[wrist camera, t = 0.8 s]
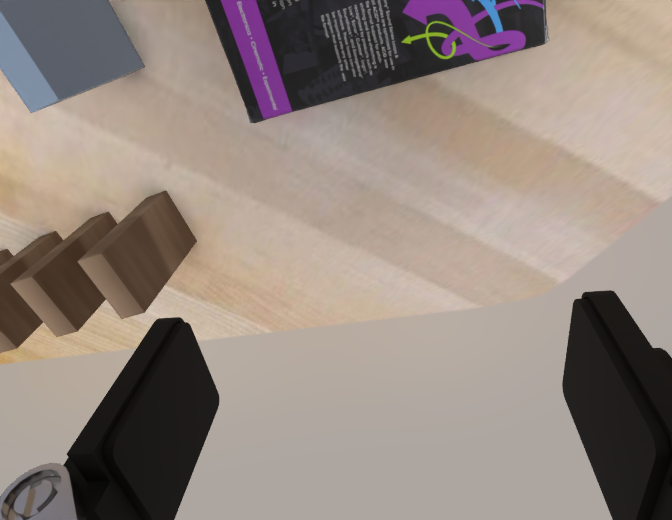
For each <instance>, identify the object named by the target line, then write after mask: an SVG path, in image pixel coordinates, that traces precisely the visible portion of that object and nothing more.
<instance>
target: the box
mask: <svg viewBox="0 0 672 520" xmlns="http://www.w3.org/2000/svg"><path fill="white" fill-rule="evenodd" d="M205 1H206V4H207V7H208V9H209V12H210V15H211V17H212V20H213V22H214V25H215V27H216V30H217V33H218V35H219V38H220V41H221V43H222V46H223V49H224V51H225V54H226V56H227V59H228V61H229V64H230V66H231V69H232V72H233V74H234V77H235V80H236V83H237V85H238V88H239V91H240V93H241V96H242V98H243V101H244V103H245V106H246V109H247V113H248V116H249V120H250V122H251V123H257V122H260V121H263V120H266V119H269V118H273V117H276V116H280V115H283V114H287V113H290V112H294V111H297V110H301V109H305V108H308V107H312V106H316V105H319V104H323V103H326V102H330V101H334V100H337V99H341V98H345V97H349V96H352V95H355V94H359V93H363V92H367V91H370V90H374V89H378V88H381V87H385V86H389V85H393V84H397V83H400V82H404V81H407V80H411V79H415V78H418V77H422V76H426V75H430V74H433V73H437V72H441V71H444V70H448V69H452V68H455V67H459V66H463V65H466V64H470V63H474V62H478V61H481V60H485V59H489V58H493V57H496V56H500V55H503V54H508V53H512V52H515V51H519V50H524V49H528V48H531V47H536V46H539V45H543V44H546V43H547V41H549V37H548V26H547V22H546V0H205Z"/></svg>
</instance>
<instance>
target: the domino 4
mask: <svg viewBox="0 0 672 520" xmlns="http://www.w3.org/2000/svg"><path fill="white" fill-rule="evenodd" d="M196 242H197V241H196V239H195V237H194V236H193V234H192V232H191V231H190V229H189V227H188V226H187V224H186V222H185V221H184V219H183V218H182V216H181V214H180V213H179V211H178V209H177V208H176V206H175V204H174V203H173V201H172V199H171V198H170V196H169V194H168V193H167V191H164V192H161V193H159V194H156V195H153V196H150V197H148V198H146V199H145V200H144V201H143V202H142V203H140V204H139V205H138V206H137V207H136V208H135V209H134V210H133V211H132V212H131V213H130V214H128V215H127V216H126V217H125V218H124V219H123V220H122V221H121V222H120V223H119V224H118V225H116V226H115V227H114V228H113V229H112V230H111V231H110V232H109V233H108V234H107V235H106V236H104V237H103V238H102V239H101V240H100V241H99V242H98V243H97V244H96V245H95V246H94V247H93V248H91V249H90V250H89V251H88V252H87V253H86V254H85V255H84V256H83V257H82V258H81V259H79V260H78V261H77V262H78V263H79V264H80V266H81V267H82V268H83V270H84V271H85V272H86V273H87V275H88V276H89V277H90V279H91V280H92V281H93V283H94V284H95V285H96V286H97V288H98V289H99V290H100V292H101V293H102V294H103V296H104V297H105V298H106V299H107V301H108V302H109V303H110V305H111V306H112V307H113V309H114V310H115V311H116V312H117V314H118V315H119V316H120V318H121V319H123V318H127V317H131V316H134V315H138V314H141V313H145V311H146V310H147V309H148V307H149V306H150V304H151V303H152V302H153V300H154V299H155V298H156V296H157V295H158V294H159V292H160V291H161V289H162V288H163V287H164V285H165V284H166V283H167V281H168V280H169V279H170V277H171V276H172V274H173V273H174V272H175V270H176V269H177V268H178V266H179V265H180V263H181V262H182V261H183V259H184V258H185V257H186V255H187V254H188V253H189V251H190V250H191V248H192V247H193V246H194V244H195V243H196Z"/></svg>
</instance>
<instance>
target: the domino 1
mask: <svg viewBox="0 0 672 520" xmlns="http://www.w3.org/2000/svg"><path fill="white" fill-rule="evenodd" d="M62 241H63V240H62V238H61V237H60V236H59V234H58V233H57V232H56V231H55V232H52V233H49V234H46V235H44V236H41V237H39V238H37V239H36V240H35V241H33V242H32V243H31V244H29V245H28V246H27V247H25V248H24V249H23V250H21V251H20V252H19V253H17V254H16V255H15V256H13V257H12V258H11V259H9V260H8V261H7V262H5V263H4V264H3V265H1V266H0V353H2V352H5V351H9V350H13V349H16V348H18V347H19V346H20V345H21V344H22V343H23V342H24V341H25V340H26V339H27V338H28V337H29V336H30V335H31V334H32V333H33V332H34V331H35V330H36V329H37V328H38V327H39V326H40V325H41V324H42V323H43V321H42V320H41V319H40V317H39V316H38V315H37V314H36V313H35V312H34V311H33V309H32V308H31V307H30V306H29V305H28V304H27V302H26V301H25V300H24V299H23V298H22V297H21V296H20V294H19V293H18V292H17V291H16V290H15V289H14V288H13V286H12V285H11V283H12V282H13V281H14V280H16V279H17V278H18V277H19V276H21V275H22V274H23V273H24V272H25V271H27V270H28V269H29V268H30V267H32V266H33V265H34V264H35V263H36V262H38V261H39V260H40V259H41V258H43V257H44V256H45V255H46V254H48V253H49V252H50V251H51V250H52V249H54V248H55V247H56V246H57V245H59V244H60V243H61V242H62Z"/></svg>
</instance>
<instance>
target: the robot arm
mask: <svg viewBox="0 0 672 520" xmlns="http://www.w3.org/2000/svg"><path fill="white" fill-rule="evenodd" d="M563 393H564V397H565V400H566V403H567V405H568V407H569V410H570V412H571V415H572V418H573V420H574V423H575V425H576V427H577V430H578V433H579V435H580V438H581V440H582V443H583V445H584V448H585V451H586V453H587V456H588V458H589V460H590V463H591V466H592V468H593V471H594V473H595V476H596V478H597V481H598V483H599V486H600V488H601V491H602V493H603V496H604V498H605V501H606V503H607V506H608V509H609V511H610V514H611V516H612V519H613V520H672V358H671V357H670V355H669V354H668V353H667V352H666V351H665V350H663V349H661V348H652V346H651V345H650V343H649V342H648V341H647V339H646V337H645V336H644V334H643V333H642V332H641V330H640V329H639V327H638V326H637V324H636V323H635V321H634V320H633V318H632V317H631V315H630V314H629V312H628V311H627V309H626V308H625V306H624V305H623V303H622V302H621V301H620V299H619V297H618V296H617V295H616V293H615V292H614V291H594V292H585V293H583V295H582V298H581V299H576V300H575V301H574V303H573V309H572V316H571V323H570V331H569V338H568V346H567V353H566V361H565V368H564V375H563ZM218 406H219V394H218V391H217V389H216V386H215V384H214V382H213V379H212V377H211V374H210V372H209V370H208V367H207V365H206V362H205V360H204V357H203V355H202V353H201V350H200V348H199V345H198V343H197V340H196V338H195V336H194V333H193V331H192V328H191V326H190V324H189V323H185V322H184V321H183V319H181V318H179V317H177V318H161V319H157V320H156V321H155V322H154V323H153V325H152V326H151V328H150V329H149V331H148V332H147V334H146V335H145V337H144V338H143V340H142V342H141V343H140V345H139V346H138V348H137V349H136V351H135V352H134V354H133V355H132V357H131V358H130V360H129V361H128V363H127V364H126V366H125V367H124V369H123V370H122V372H121V373H120V375H119V376H118V378H117V379H116V381H115V382H114V384H113V385H112V387H111V388H110V390H109V391H108V393H107V394H106V396H105V397H104V399H103V400H102V402H101V403H100V405H99V406H98V408H97V409H96V411H95V412H94V414H93V415H92V417H91V418H90V420H89V421H88V423H87V425H86V426H85V427H84V429H83V430H82V432H81V433H80V435H79V436H78V438H77V439H76V441H75V442H74V444H73V445H72V447H71V449H70V450H69V452H68V453H67V455H68V457H69V458H68V459H67V461H66V462H65V464H64V465H61V464H57V463H49V464H44V465H41V466H38V467H36V468H33V469H31V470H29V471H28V472H26V473H24V474H23V475H21V476H20V477H18V478H17V479H16V480H15V481H14V482H13V483H12V484H10V486H8V487H7V489H6V490H5V491H4V492H3V494H2V495H1V496H0V520H174V519H175V516H176V514H177V511H178V508H179V506H180V503H181V501H182V498H183V496H184V493H185V491H186V488H187V486H188V483H189V480H190V478H191V475H192V473H193V470H194V468H195V465H196V462H197V460H198V457H199V455H200V452H201V450H202V447H203V445H204V442H205V440H206V437H207V435H208V432H209V430H210V427H211V425H212V422H213V419H214V416H215V414H216V412H217V409H218Z"/></svg>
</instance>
